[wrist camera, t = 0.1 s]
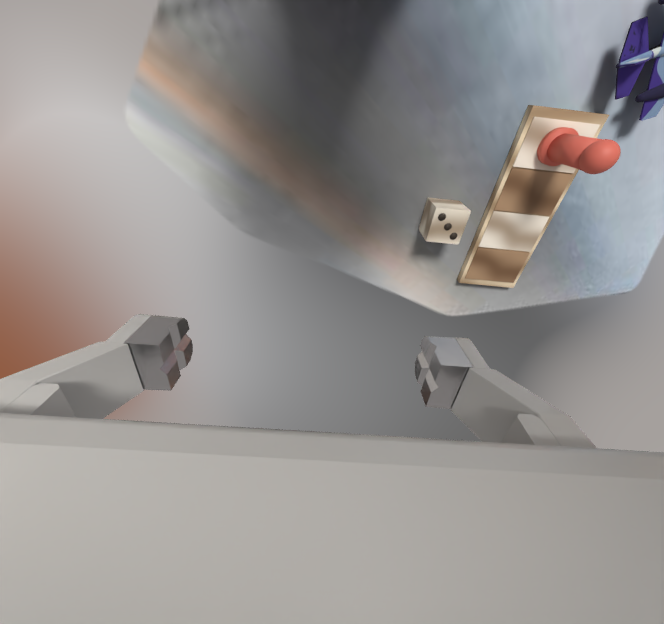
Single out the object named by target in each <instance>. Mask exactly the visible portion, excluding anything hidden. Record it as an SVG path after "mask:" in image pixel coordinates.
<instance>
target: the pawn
mask: <svg viewBox="0 0 664 624" xmlns="http://www.w3.org/2000/svg"><path fill="white" fill-rule="evenodd" d="M619 156H620V147H619V145H618V144H617V143H616V142H615V141H613V140H608V139H605V140H602V139H596V138H590V137H585V136H579V134H578V132H577V131H576V130H575V129H573V128H567V127H559V128H556V129H554V130H552V131H550V132H549V133H548V134H547V135H545V137H544V138H543V139H542V140H541V142H540V144H539V146H538V149H537V157H538V160H539V161H540V162H541V163H543V164H545V165H548V166H558V165H561V164H563V165H567V166H570V167H573V168H576V169H579V170H582V171H584V172H586V173H589V174H598V173H602V172H604V171H606V170H608V169H610V168H611V167H612V166H613V165H614V164H615V163H616V162H617V160H618V159H619Z"/></svg>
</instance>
